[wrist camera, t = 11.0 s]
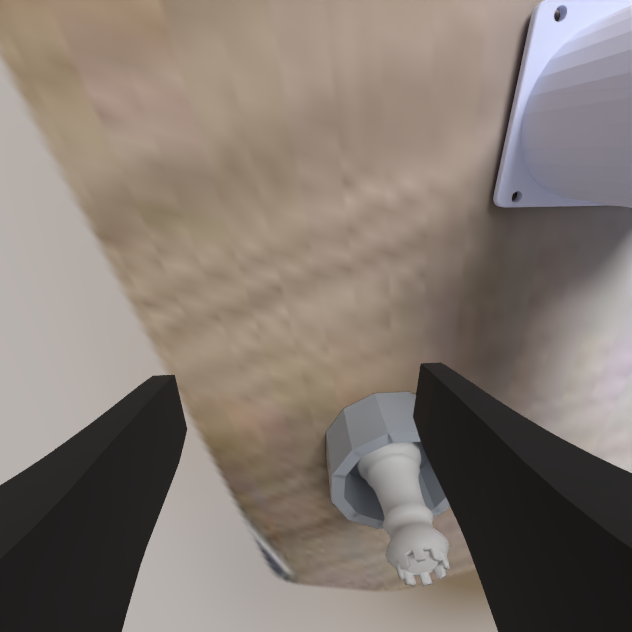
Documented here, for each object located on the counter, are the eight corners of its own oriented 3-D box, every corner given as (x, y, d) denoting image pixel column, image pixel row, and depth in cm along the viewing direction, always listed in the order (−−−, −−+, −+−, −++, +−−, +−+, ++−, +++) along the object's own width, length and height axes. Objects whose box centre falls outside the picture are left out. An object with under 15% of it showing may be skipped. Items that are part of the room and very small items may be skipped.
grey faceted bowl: (455, 389, 22) (482, 427, 19) (436, 478, 26) (456, 522, 23) (326, 395, 22) (332, 436, 19) (325, 485, 26) (330, 532, 23)
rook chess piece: (383, 408, 22) (427, 531, 15) (428, 438, 24) (488, 563, 16) (338, 449, 23) (359, 580, 16) (383, 474, 25) (421, 605, 18)
